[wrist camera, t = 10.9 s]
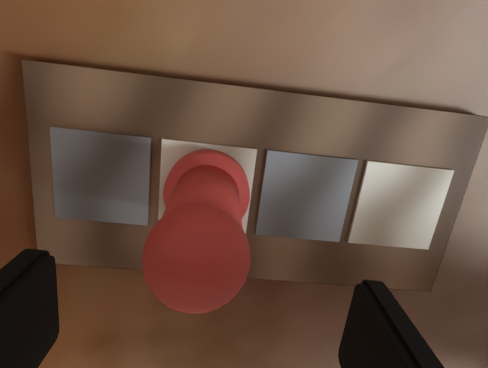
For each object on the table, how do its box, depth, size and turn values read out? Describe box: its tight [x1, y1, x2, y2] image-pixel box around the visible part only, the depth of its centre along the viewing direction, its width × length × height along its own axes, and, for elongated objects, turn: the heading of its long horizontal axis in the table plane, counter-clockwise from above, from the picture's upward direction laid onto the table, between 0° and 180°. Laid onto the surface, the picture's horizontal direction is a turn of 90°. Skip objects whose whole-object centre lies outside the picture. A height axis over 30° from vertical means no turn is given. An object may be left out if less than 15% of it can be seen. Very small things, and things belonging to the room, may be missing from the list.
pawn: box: [142, 149, 251, 314], centre depth 15 cm, size 5×5×10 cm
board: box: [21, 60, 488, 292], centre depth 21 cm, size 26×12×1 cm, turn 83°
